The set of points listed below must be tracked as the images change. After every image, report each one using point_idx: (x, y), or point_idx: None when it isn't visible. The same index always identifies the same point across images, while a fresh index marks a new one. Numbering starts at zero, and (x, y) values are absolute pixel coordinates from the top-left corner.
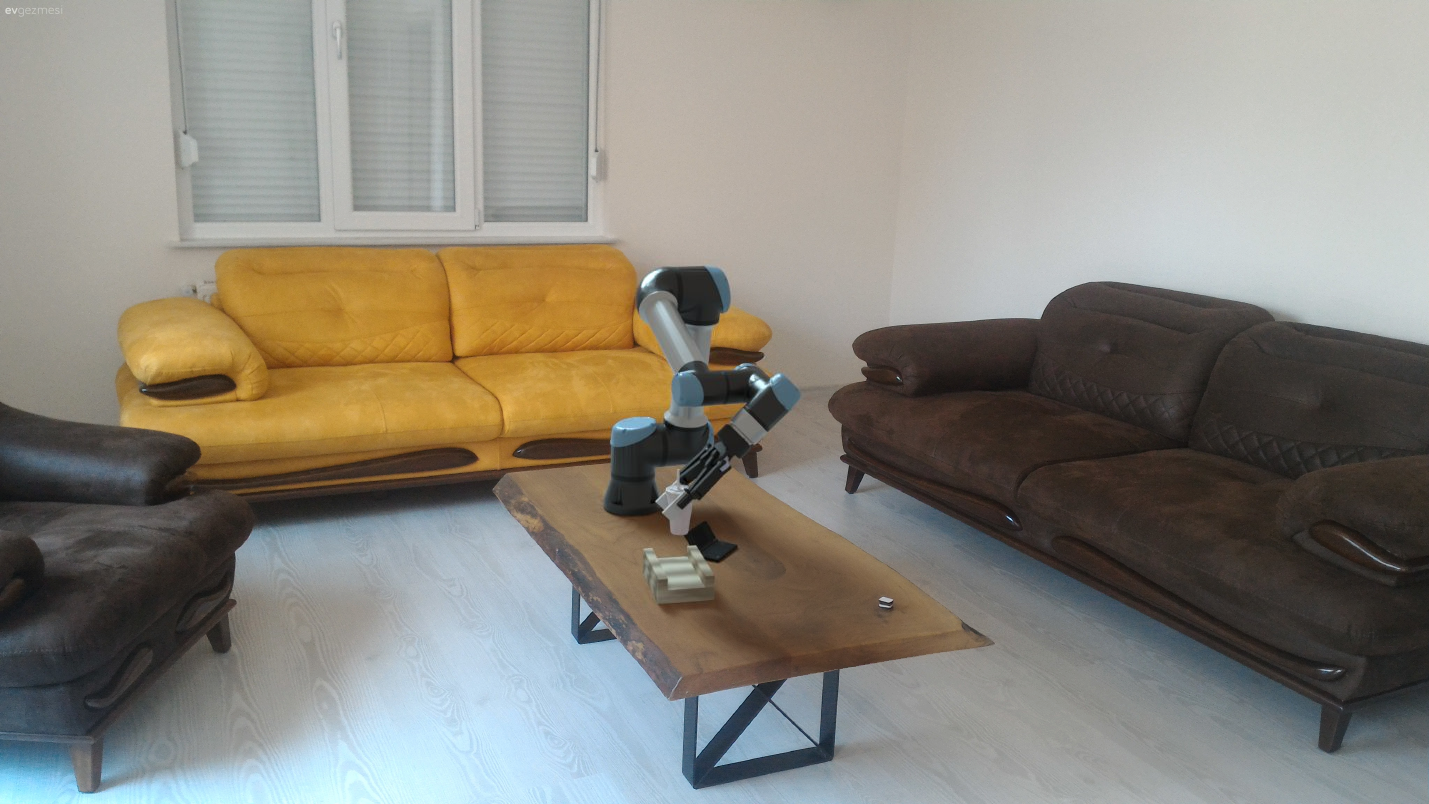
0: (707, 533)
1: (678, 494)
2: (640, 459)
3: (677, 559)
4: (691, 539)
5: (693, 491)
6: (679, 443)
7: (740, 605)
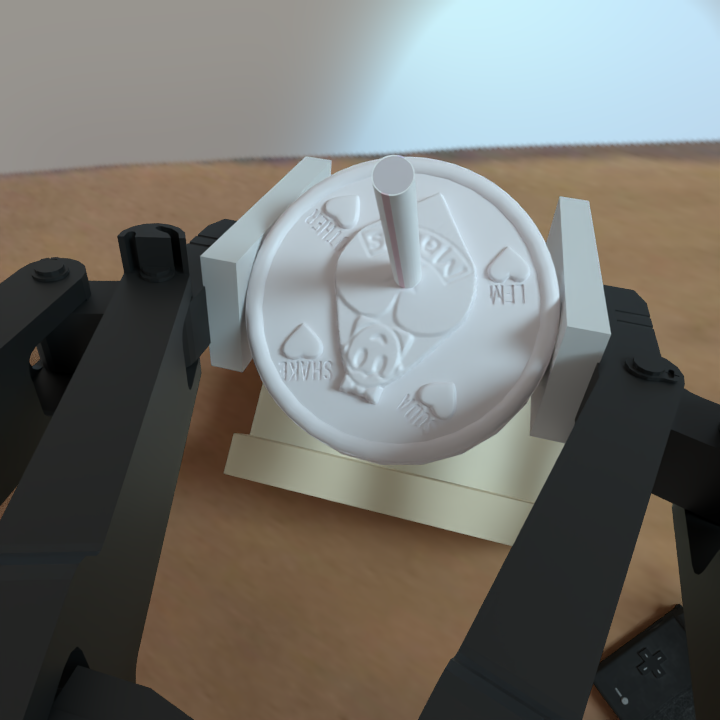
0: None
1: (273, 229)
2: None
3: (558, 455)
4: None
5: (21, 270)
6: None
7: (180, 540)
